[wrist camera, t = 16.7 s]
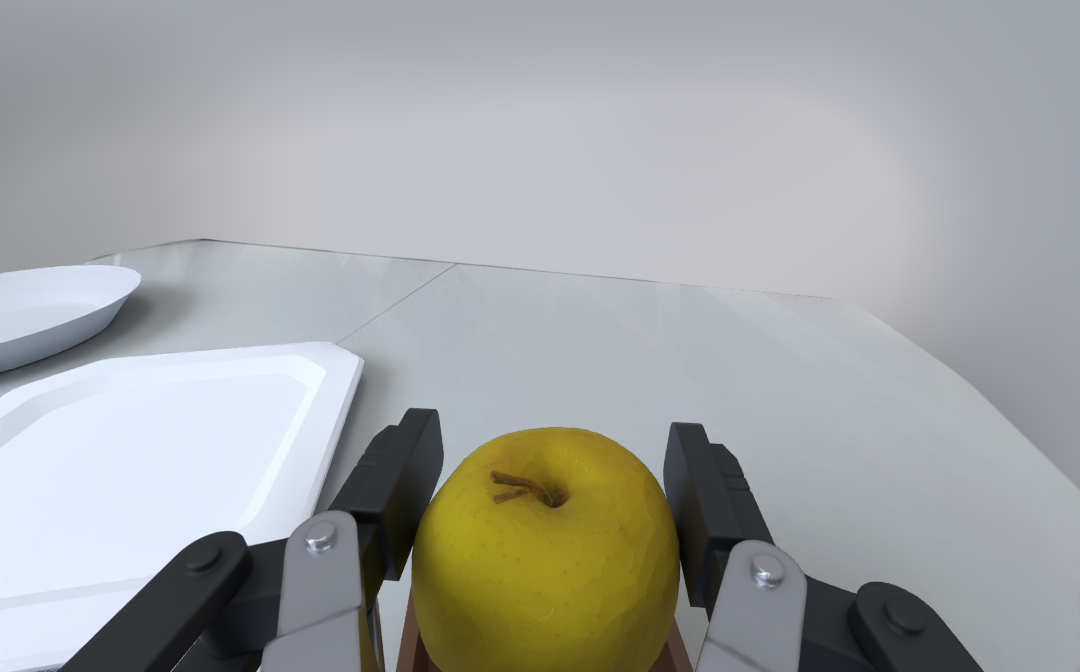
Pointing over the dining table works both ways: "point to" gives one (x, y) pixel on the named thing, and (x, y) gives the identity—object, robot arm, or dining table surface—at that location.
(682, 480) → the robot arm
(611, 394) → the dining table surface
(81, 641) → the plate
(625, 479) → the apple
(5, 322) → the bowl
